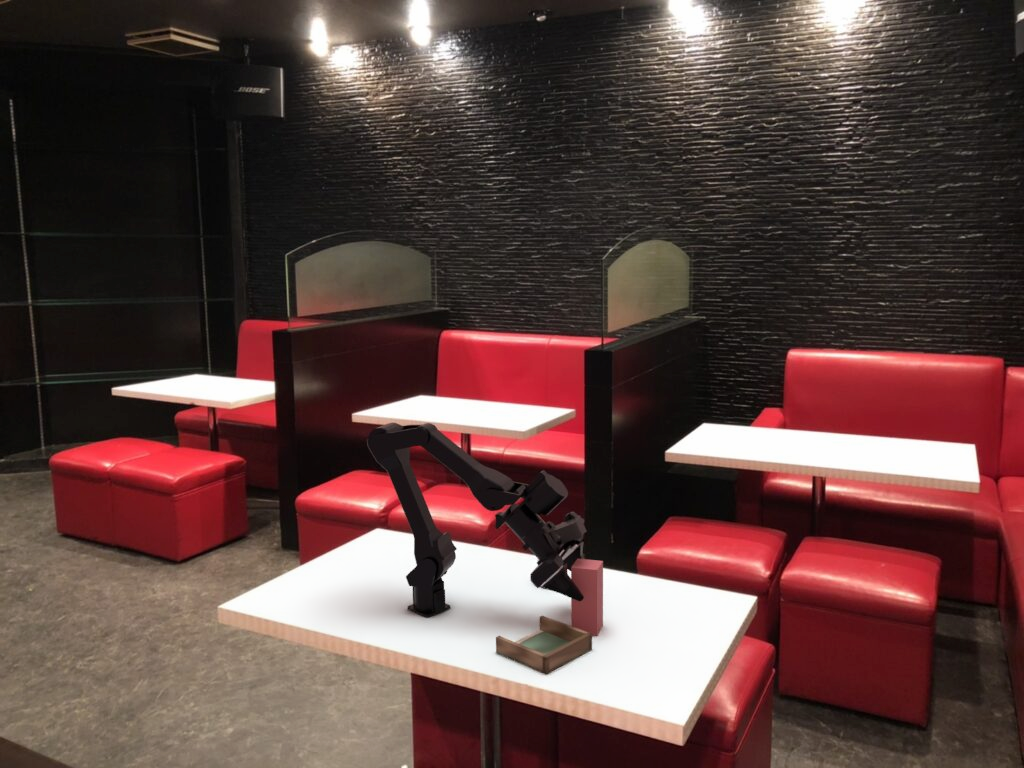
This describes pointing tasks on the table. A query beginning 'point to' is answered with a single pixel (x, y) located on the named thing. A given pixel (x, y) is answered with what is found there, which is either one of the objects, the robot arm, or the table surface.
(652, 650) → the table surface
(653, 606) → the table surface
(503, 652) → the box
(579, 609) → the post
